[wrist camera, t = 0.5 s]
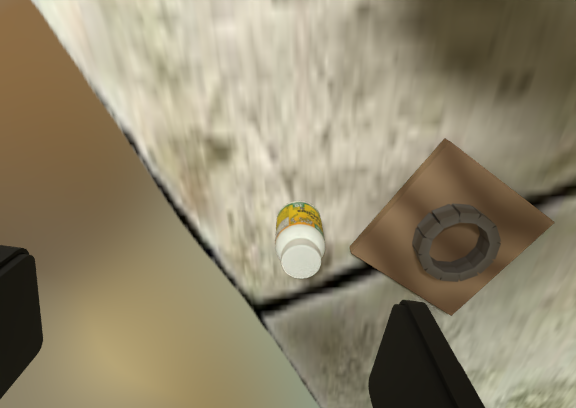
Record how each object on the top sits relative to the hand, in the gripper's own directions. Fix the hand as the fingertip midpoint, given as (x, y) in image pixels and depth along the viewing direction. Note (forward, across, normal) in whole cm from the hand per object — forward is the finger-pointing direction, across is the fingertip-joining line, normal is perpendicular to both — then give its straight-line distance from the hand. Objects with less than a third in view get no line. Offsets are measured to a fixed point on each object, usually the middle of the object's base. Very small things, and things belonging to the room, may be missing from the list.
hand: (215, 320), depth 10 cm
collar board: (+33, -24, +10) cm, 42 cm away
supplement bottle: (+34, -6, +12) cm, 36 cm away
